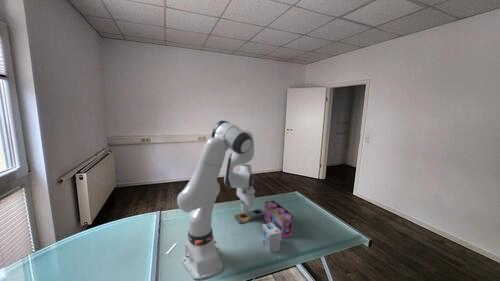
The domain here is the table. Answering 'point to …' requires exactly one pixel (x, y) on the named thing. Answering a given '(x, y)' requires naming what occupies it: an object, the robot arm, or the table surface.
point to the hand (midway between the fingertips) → (244, 206)
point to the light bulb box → (271, 237)
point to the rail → (249, 216)
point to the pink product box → (279, 218)
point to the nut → (244, 207)
